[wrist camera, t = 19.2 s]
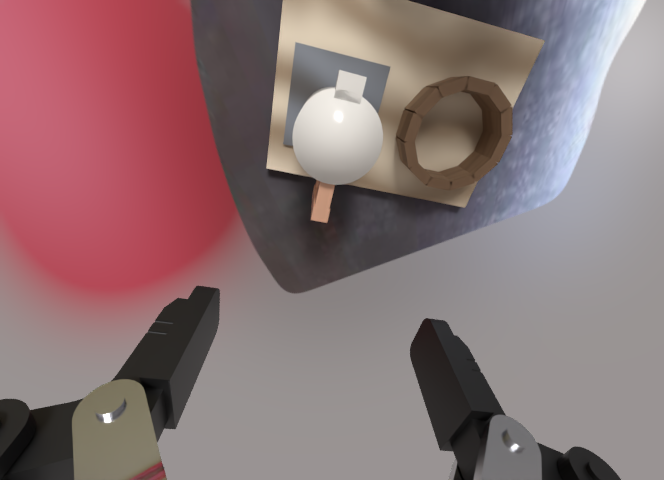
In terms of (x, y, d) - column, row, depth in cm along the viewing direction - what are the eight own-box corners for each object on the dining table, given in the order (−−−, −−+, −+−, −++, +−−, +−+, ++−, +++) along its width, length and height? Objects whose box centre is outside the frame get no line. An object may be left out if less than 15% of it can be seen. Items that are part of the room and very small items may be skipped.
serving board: (288, -31, 24) (280, -55, 20) (536, 42, 27) (575, 34, 23) (268, 165, 32) (260, 177, 28) (460, 203, 35) (479, 219, 31)
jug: (308, 66, 26) (303, 59, 17) (373, 84, 27) (400, 86, 18) (290, 178, 31) (280, 217, 22) (345, 190, 32) (356, 231, 23)
